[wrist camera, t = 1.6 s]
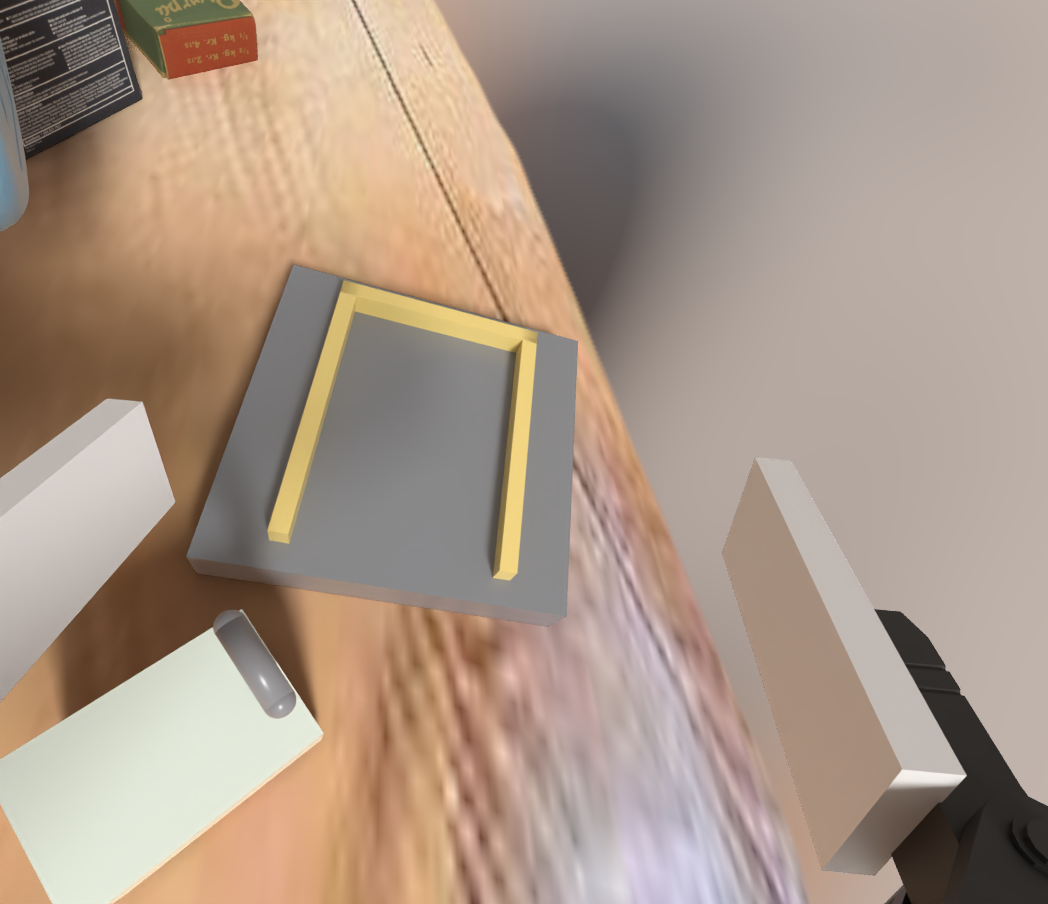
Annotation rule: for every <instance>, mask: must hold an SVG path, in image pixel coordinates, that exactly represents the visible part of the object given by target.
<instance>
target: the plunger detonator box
mask: <svg viewBox="0 0 1048 904" xmlns="http://www.w3.org/2000/svg"><path fill="white" fill-rule="evenodd" d="M322 736H323V732H322V730H321V729H320V727H319V726H318V724H317V723H316V721H315V719H314V718H313V716H312V715H311V713H310V712H309V710H308V709H307V707H306V706H305V704H304V703H303V701H302V700H301V698H300V697H299V695H298V693H297V692H296V690H295V689H294V687H293V686H292V684H291V683H290V681H289V680H288V678H287V677H286V675H285V674H284V672H283V671H282V669H281V668H280V666H279V664H278V663H277V661H276V660H275V658H274V657H273V655H272V654H271V652H270V651H269V649H268V648H267V646H266V645H265V643H264V642H263V640H262V638H261V637H260V635H259V634H258V632H257V631H256V629H255V628H254V626H253V625H252V623H251V622H250V620H249V619H248V617H247V616H246V614H245V613H244V611H243V609H241V610H239V611H238V610H234V609H230V610H226V611H223V612H222V613H220V614H219V615H218V616H217V617H216V619H215V621H214V624H213V627H212V628H211V629H209V630H207V631H206V632H204V633H202V634H201V635H199V636H198V637H196V638H194V639H193V640H191V641H190V642H188V643H186V644H185V645H183V646H182V647H180V648H178V649H177V650H175V651H174V652H172V653H170V654H169V655H167V656H166V657H164V658H162V659H161V660H159V661H157V662H156V663H154V664H153V665H151V666H149V667H148V668H146V669H145V670H143V671H141V672H140V673H138V674H137V675H135V676H133V677H132V678H130V679H129V680H127V681H125V682H124V683H122V684H121V685H119V686H117V687H116V688H114V689H112V690H111V691H109V692H108V693H106V694H104V695H103V696H101V697H100V698H98V699H96V700H95V701H93V702H92V703H90V704H88V705H87V706H85V707H84V708H82V709H80V710H79V711H77V712H76V713H74V714H72V715H71V716H69V717H67V718H66V719H64V720H63V721H61V722H59V723H58V724H56V725H55V726H53V727H51V728H50V729H48V730H47V731H45V732H43V733H42V734H40V735H39V736H37V737H35V738H34V739H32V740H31V741H29V742H27V743H26V744H24V745H22V746H21V747H19V748H18V749H16V750H14V751H13V752H11V753H10V754H8V755H6V756H5V757H3V758H2V759H0V805H1V807H2V809H3V810H4V812H5V814H6V816H7V818H8V820H9V822H10V824H11V826H12V828H13V830H14V831H15V833H16V835H17V837H18V839H19V841H20V843H21V845H22V847H23V849H24V851H25V852H26V854H27V856H28V858H29V860H30V862H31V864H32V866H33V868H34V870H35V872H36V873H37V875H38V877H39V879H40V881H41V883H42V885H43V887H44V889H45V891H46V893H47V894H48V896H49V898H50V900H51V902H52V904H113V903H114V902H115V901H117V900H118V899H120V898H121V897H123V896H124V895H126V894H127V893H128V892H130V891H131V890H132V889H133V888H135V887H136V886H137V885H138V884H140V883H141V882H142V881H144V880H145V879H146V878H147V877H149V876H150V875H151V874H152V873H154V872H155V871H156V870H157V869H159V868H160V867H161V866H162V865H164V864H165V863H166V862H168V861H169V860H170V859H171V858H173V857H174V856H175V855H176V854H178V853H179V852H180V851H181V850H183V849H184V848H185V847H186V846H188V845H189V844H190V843H192V842H193V841H194V840H195V839H197V838H198V837H199V836H200V835H202V834H203V833H204V832H205V831H207V830H208V829H209V828H210V827H212V826H213V825H214V824H216V823H217V822H218V821H219V820H221V819H222V818H223V817H224V816H226V815H227V814H228V813H229V812H231V811H232V810H233V809H234V808H236V807H237V806H238V805H240V804H241V803H242V802H243V801H245V800H246V799H247V798H248V797H250V796H251V795H252V794H253V793H255V792H256V791H257V790H258V789H260V788H261V787H262V786H264V785H265V784H266V783H267V782H269V781H270V780H271V779H272V778H274V777H275V776H276V775H277V774H279V773H280V772H281V771H282V770H284V769H285V768H286V767H288V766H289V765H290V764H291V763H293V762H294V761H295V760H296V759H298V758H299V757H300V756H301V755H303V754H304V753H305V752H306V751H308V750H309V749H310V748H312V747H313V746H314V745H315V744H317V743H318V742H319V741H320V740H322Z"/></svg>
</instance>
